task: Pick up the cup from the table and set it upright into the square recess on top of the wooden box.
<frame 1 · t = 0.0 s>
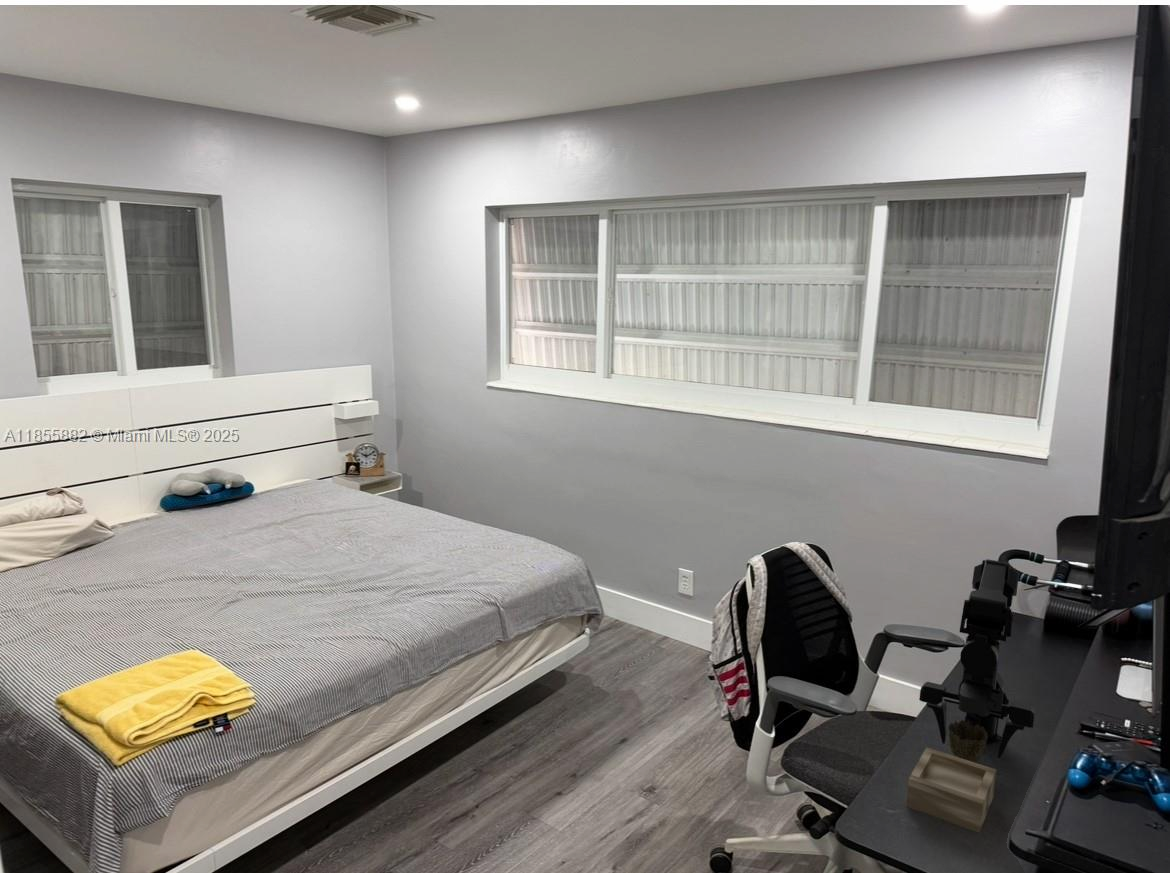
hand: (970, 750, 149), 15 cm above the table, tool pointing down, fingers open, 9 cm apart
cup: (964, 764, 170), on the table
wooden box: (950, 801, 158), on the table
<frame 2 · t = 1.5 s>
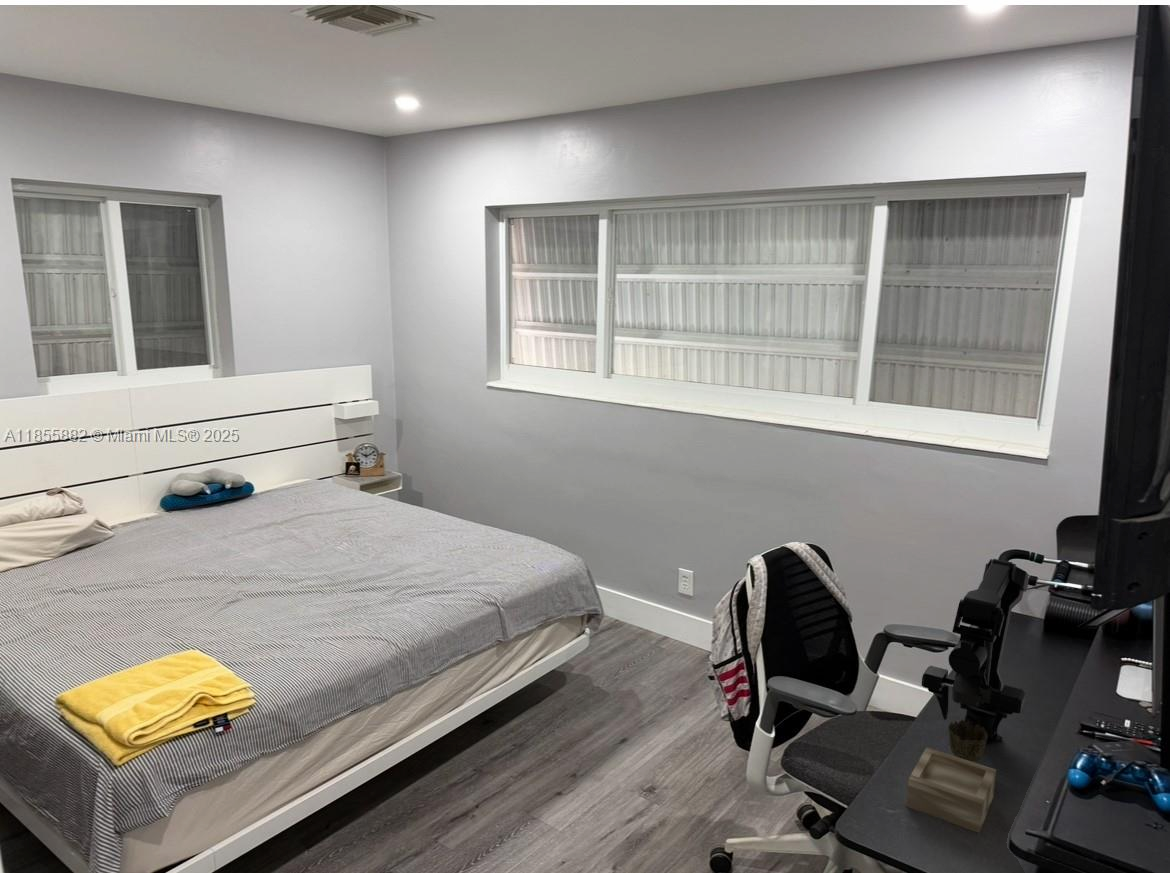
hand: (968, 725, 169), 9 cm above the table, tool pointing down, fingers open, 9 cm apart
nothing on the table moved.
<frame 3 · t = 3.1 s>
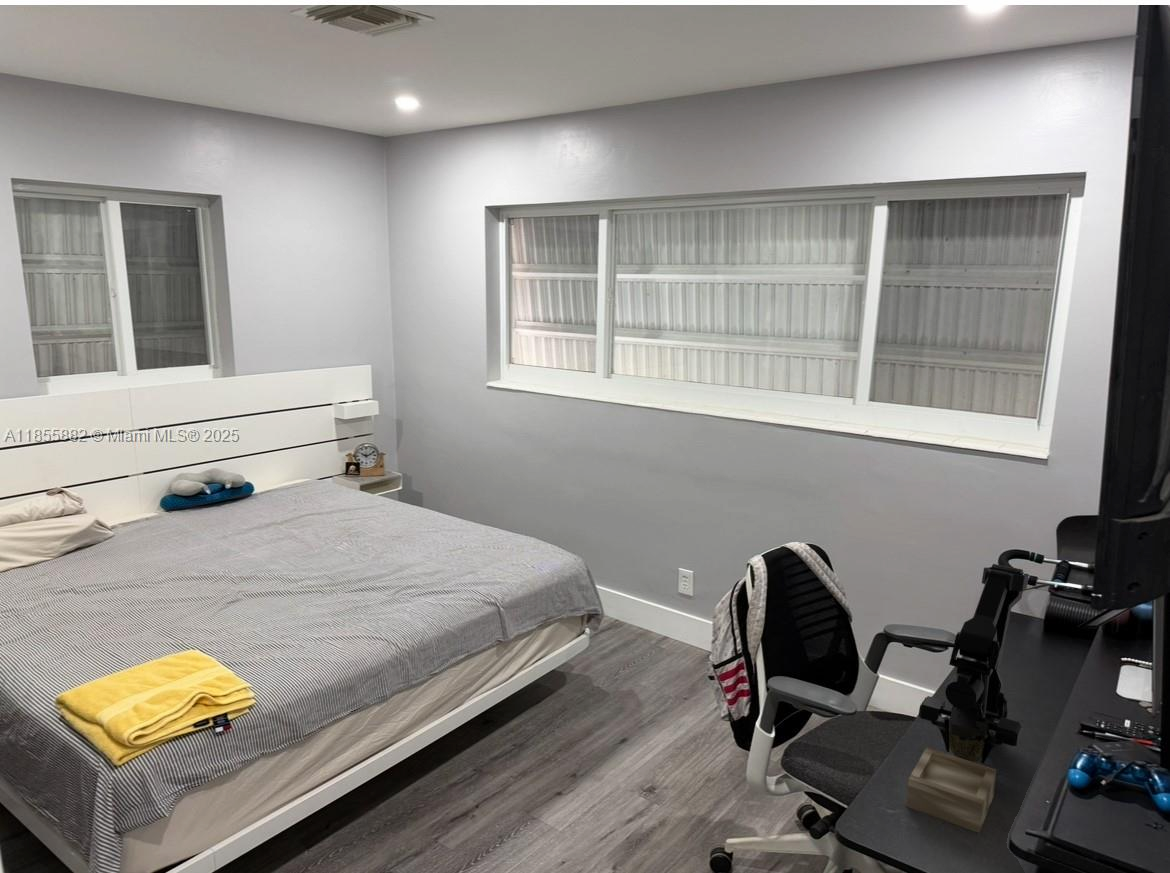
hand: (965, 756, 170), 2 cm above the table, tool pointing down, fingers closed on cup, 6 cm apart
cup: (964, 764, 170), on the table, touching gripper
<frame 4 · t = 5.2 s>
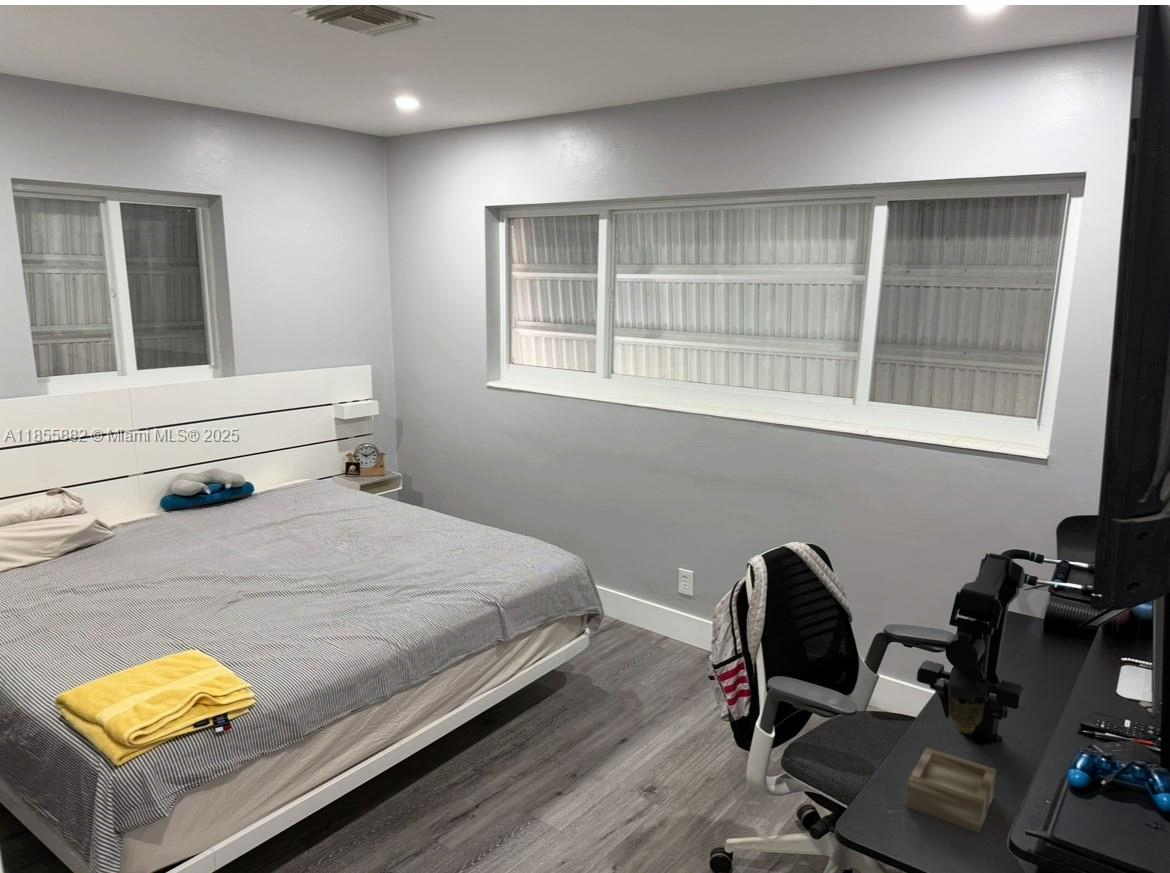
hand: (965, 722, 164), 12 cm above the table, tool pointing down, fingers closed on cup, 6 cm apart
cup: (964, 730, 164), point 10 cm above the table, touching gripper
when the fingers open (8 cm above the table, at t = 7.7 s): cup drops 1 cm, resting on wooden box.
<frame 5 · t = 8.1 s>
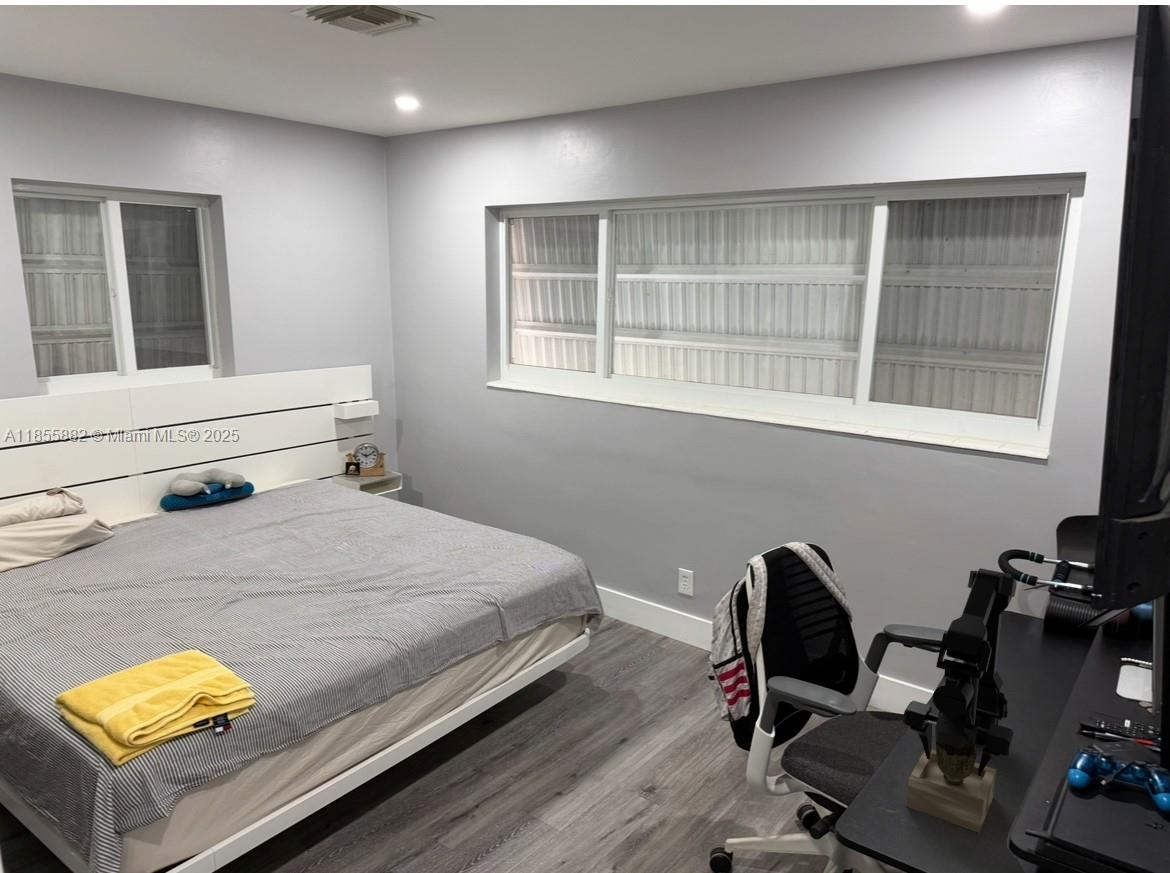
hand: (953, 766, 157), 8 cm above the table, tool pointing down, fingers open, 9 cm apart
cup: (953, 782, 157), point 4 cm above the table, touching wooden box
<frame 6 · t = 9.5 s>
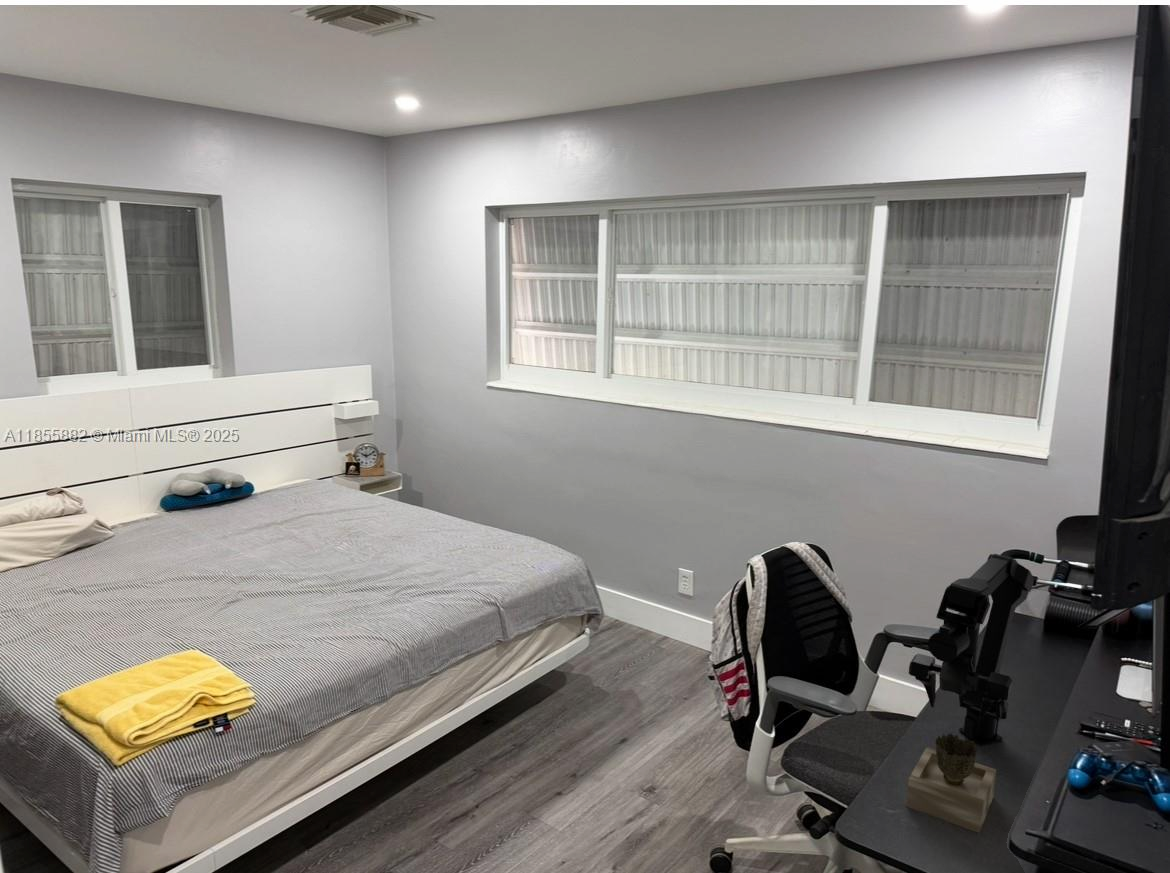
hand: (956, 713, 168), 12 cm above the table, tool pointing down, fingers open, 9 cm apart
nothing on the table moved.
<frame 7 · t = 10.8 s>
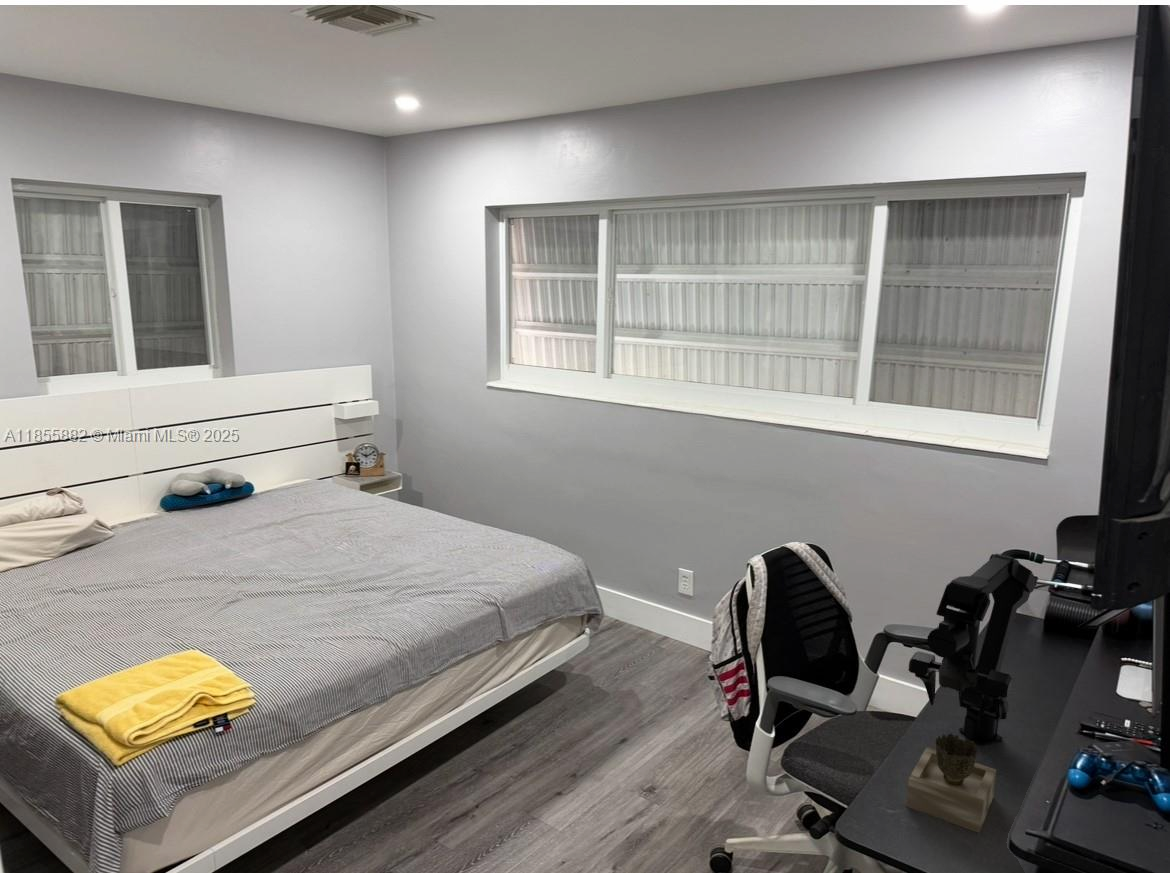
hand: (955, 711, 168), 12 cm above the table, tool pointing down, fingers open, 9 cm apart
nothing on the table moved.
at the end: cup 0.1 cm off-centre on the wooden box, point 4.3 cm above the wooden box's base; cup tilted 0°; the gripper is holding nothing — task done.
